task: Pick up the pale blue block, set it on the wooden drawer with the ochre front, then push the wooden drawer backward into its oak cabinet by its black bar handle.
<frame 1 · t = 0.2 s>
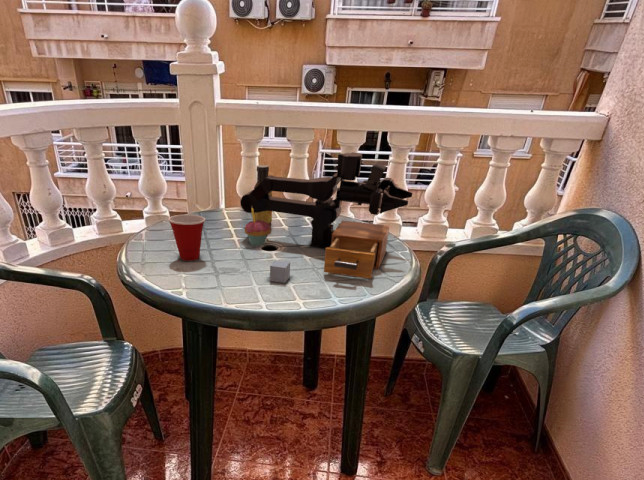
hand: (410, 198, 141), 17 cm above the table, tool horizontal, fingers open, 9 cm apart
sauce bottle: (262, 227, 172), on the table
cabinet: (358, 257, 149), on the table
block: (279, 279, 136), on the table
cupcake: (257, 243, 159), on the table
wooden drawer: (351, 258, 137), point 4 cm above the table, slide at 8.5 cm
plastic cup: (190, 257, 149), on the table
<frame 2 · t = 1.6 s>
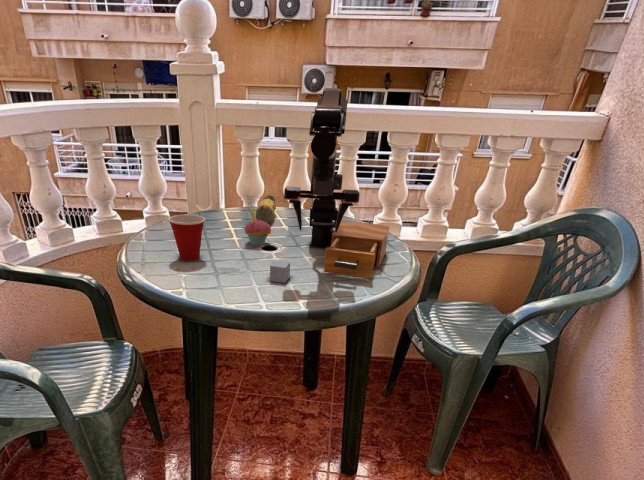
hand: (318, 231, 126), 14 cm above the table, tool tilted 15°, fingers open, 9 cm apart
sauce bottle: (263, 216, 172), point 3 cm above the table
everything else where it was.
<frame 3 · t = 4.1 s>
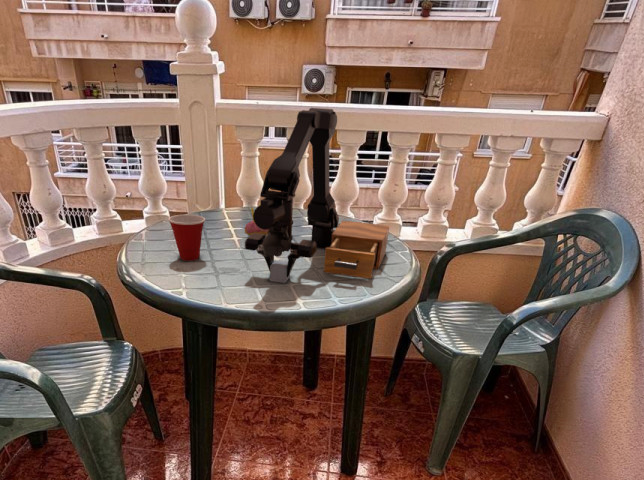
hand: (279, 275, 136), 1 cm above the table, tool pointing down, fingers closed on block, 4 cm apart
block: (279, 279, 136), on the table, touching gripper
everything else where it was.
when the fingers open (3 cm above the table, at t = 10.2 s): block stays where it is, resting on wooden drawer.
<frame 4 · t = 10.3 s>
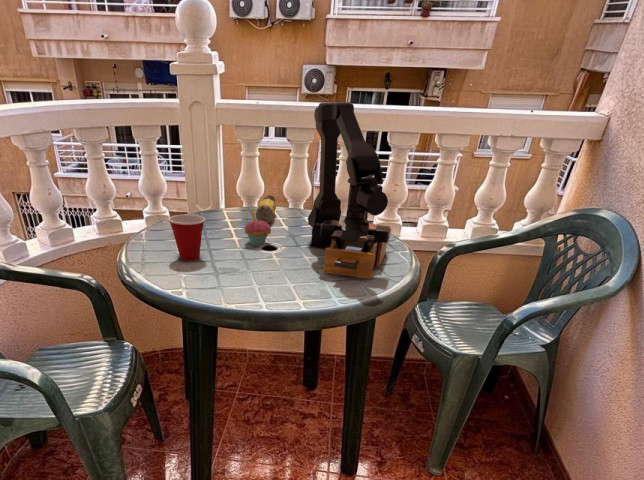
hand: (351, 260, 139), 3 cm above the table, tool pointing down, fingers open, 5 cm apart
block: (351, 264, 140), point 2 cm above the table, touching wooden drawer
wooden drawer: (351, 258, 137), point 4 cm above the table, slide at 8.6 cm, touching block, gripper
everything else where it was.
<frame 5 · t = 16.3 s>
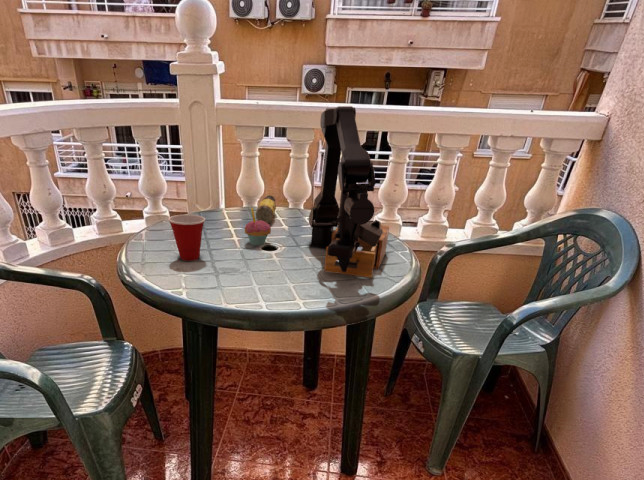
hand: (344, 271, 131), 4 cm above the table, tool pointing down, fingers closed
wooden drawer: (351, 257, 138), point 4 cm above the table, slide at 7.8 cm, touching block, gripper
everything else where it was.
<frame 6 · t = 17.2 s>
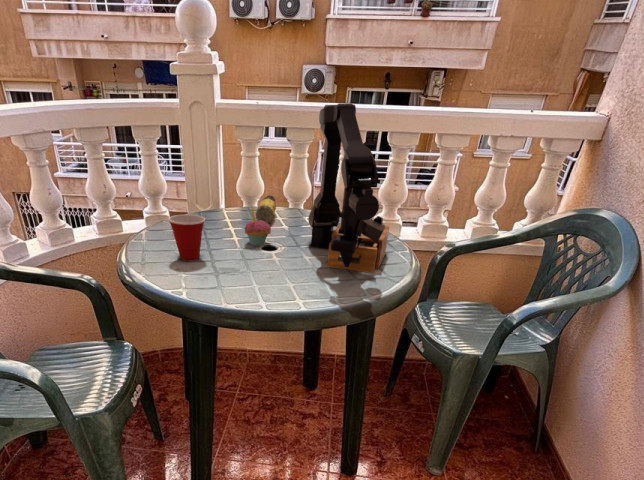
hand: (346, 266, 134), 4 cm above the table, tool pointing down, fingers closed
block: (354, 259, 143), point 2 cm above the table, touching wooden drawer
wooden drawer: (354, 253, 140), point 4 cm above the table, slide at 4.3 cm, touching block, gripper
everything else where it was.
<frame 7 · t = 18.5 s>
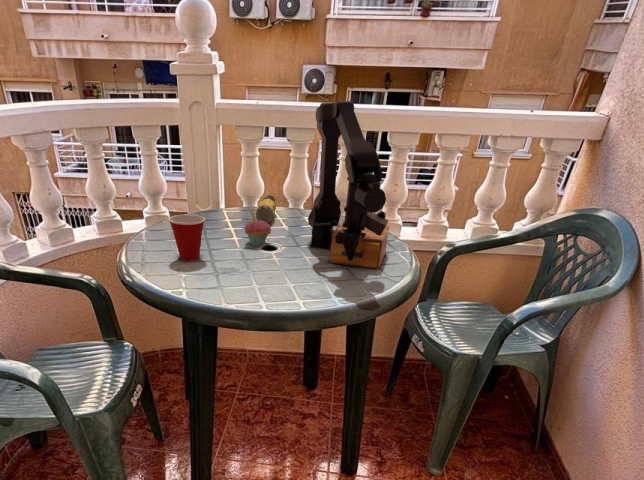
hand: (350, 260, 137), 4 cm above the table, tool pointing down, fingers closed
block: (357, 254, 146), point 2 cm above the table, touching wooden drawer
wooden drawer: (357, 248, 144), point 4 cm above the table, slide at 0.0 cm, touching block, cabinet, gripper
everything else where it was.
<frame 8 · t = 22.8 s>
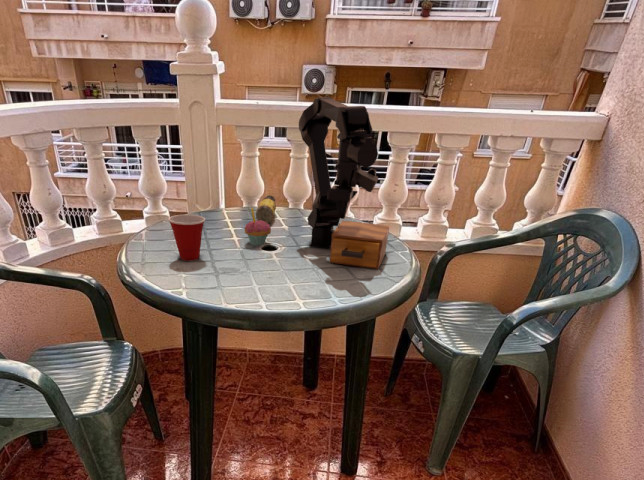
hand: (342, 218, 141), 12 cm above the table, tool pointing down, fingers closed
wooden drawer: (357, 248, 144), point 4 cm above the table, slide at 0.0 cm, touching block
everything else where it was.
at the end: wooden drawer slide at 0.0 cm; block inside the target area in the cabinet (2.6 cm from its centre), point 2.0 cm above the cabinet's base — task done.
